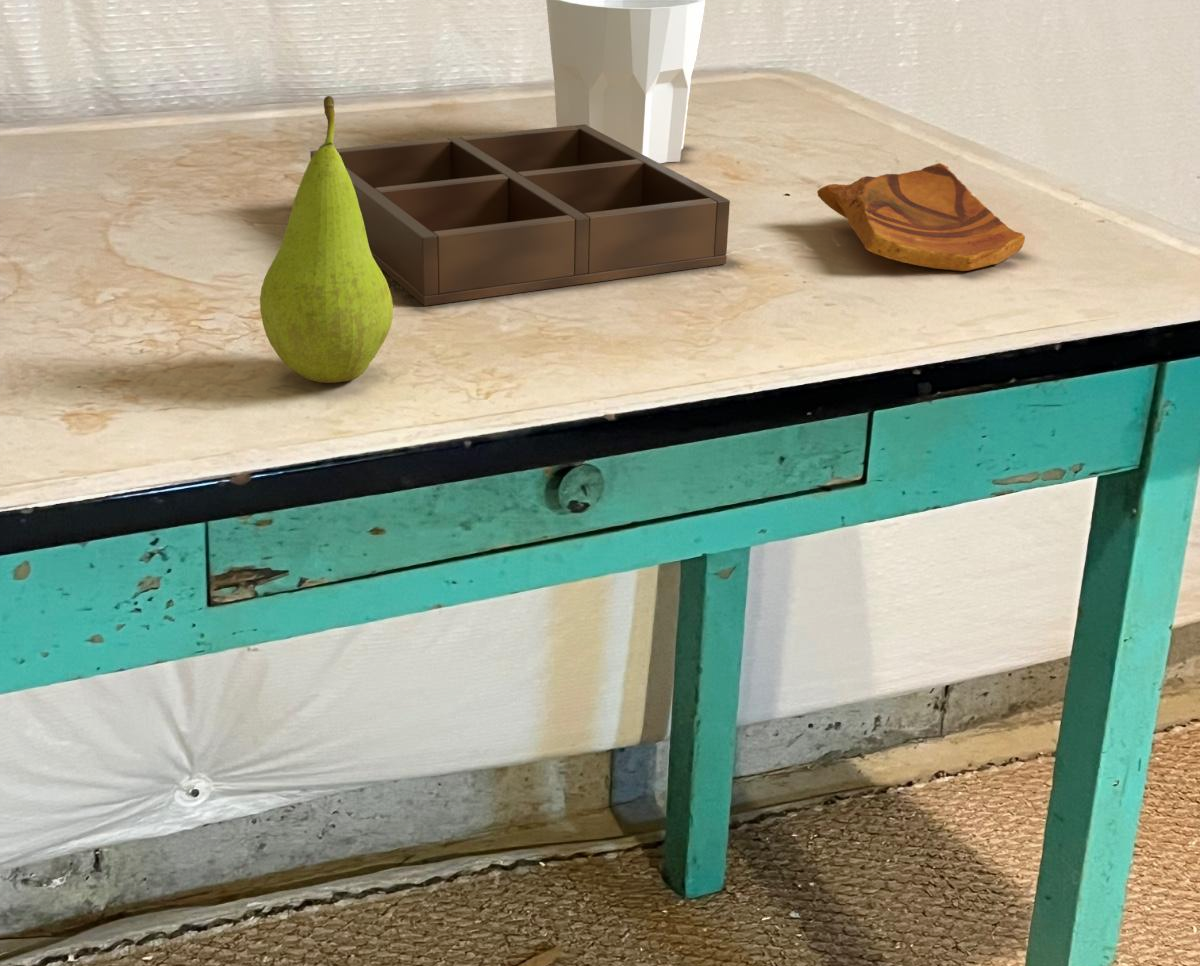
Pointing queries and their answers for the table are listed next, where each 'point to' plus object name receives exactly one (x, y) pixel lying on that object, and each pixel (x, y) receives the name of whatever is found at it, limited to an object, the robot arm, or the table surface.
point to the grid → (528, 213)
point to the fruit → (326, 278)
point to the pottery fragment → (923, 220)
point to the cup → (626, 69)
